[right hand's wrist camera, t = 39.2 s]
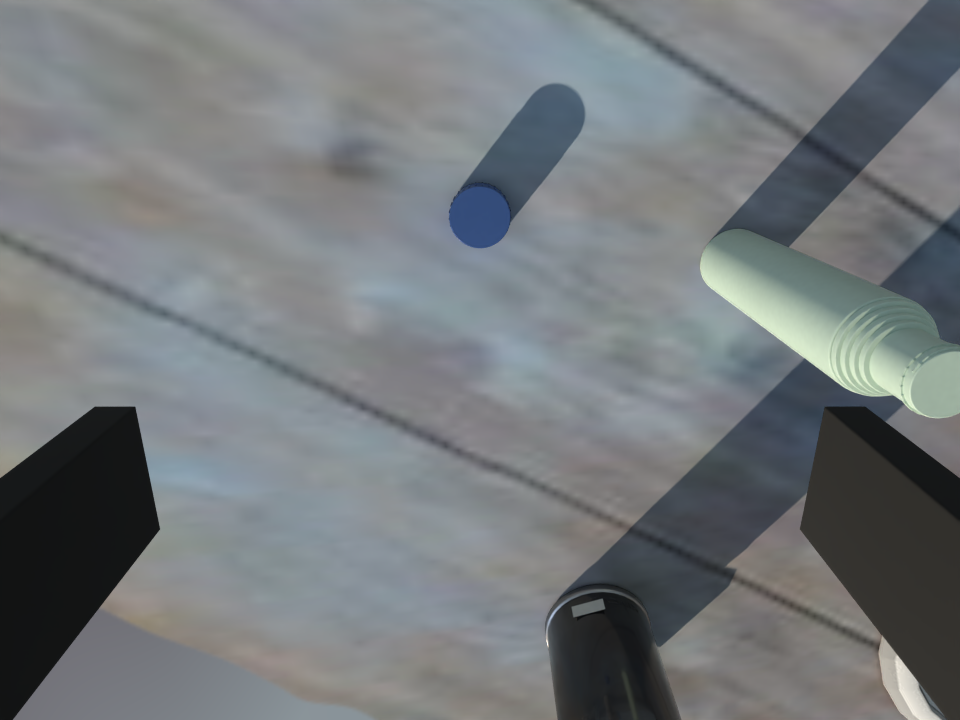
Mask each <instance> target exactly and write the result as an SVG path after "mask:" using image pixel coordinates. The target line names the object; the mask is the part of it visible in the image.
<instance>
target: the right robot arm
mask: <svg viewBox="0 0 960 720" xmlns="http://www.w3.org/2000/svg"><path fill="white" fill-rule="evenodd" d="M159 530H160V526H159V522H158V517H157V512H156V507H155V502H154V497H153V492H152V487H151V482H150V477H149V472H148V467H147V462H146V457H145V453H144V448H143V443H142V438H141V433H140V428H139V423H138V418H137V413H136V408H135V407H94V408H93V409H91V410H90V411H89V412H87V413H86V414H85V415H83V416H82V417H81V418H79V419H78V420H77V421H75V422H74V423H73V424H71V425H70V426H69V427H67V428H66V429H65V430H63V431H62V432H61V433H60V434H58V435H57V436H56V437H54V438H53V439H52V440H50V441H49V442H48V443H46V444H45V445H44V446H42V447H41V448H40V449H38V450H37V451H36V452H34V453H33V454H32V455H30V456H29V457H28V458H26V459H25V460H24V461H22V462H21V463H20V464H18V465H17V466H16V467H15V468H13V469H12V470H11V471H9V472H8V473H7V474H5V475H4V476H3V477H1V478H0V720H13V719H14V717H15V716H16V715H17V713H18V712H19V711H20V710H21V708H22V707H23V706H24V704H25V703H26V702H27V701H28V699H29V698H30V697H31V695H32V694H33V693H34V692H35V690H36V689H37V688H38V686H39V685H40V684H41V682H42V681H43V680H44V679H45V677H46V676H47V675H48V673H49V672H50V671H51V670H52V668H53V667H54V666H55V664H56V663H57V662H58V660H59V659H60V658H61V657H62V655H63V654H64V653H65V651H66V650H67V649H68V647H69V646H70V645H71V644H72V642H73V641H74V640H75V638H76V637H77V636H78V635H79V633H80V632H81V631H82V629H83V628H84V627H85V626H86V624H87V623H88V622H89V620H90V619H91V618H92V617H93V615H94V614H95V613H96V611H97V610H98V609H99V608H100V606H101V605H102V604H103V602H104V601H105V600H106V598H107V597H108V596H109V595H110V593H111V592H112V591H113V589H114V588H115V587H116V586H117V584H118V583H119V582H120V580H121V579H122V578H123V576H124V575H125V574H126V573H127V571H128V570H129V569H130V567H131V566H132V565H133V564H134V562H135V561H136V560H137V558H138V557H139V556H140V555H141V553H142V552H143V551H144V549H145V548H146V547H147V545H148V544H149V543H150V542H151V540H152V539H153V538H154V536H155V535H156V534H157V533H158V531H159ZM800 530H801V531H802V533H803V534H804V535H805V536H806V538H807V539H808V540H809V542H810V543H811V544H812V545H813V547H814V548H815V549H816V551H817V552H818V553H819V555H820V556H821V557H822V558H823V560H824V561H825V562H826V564H827V565H828V566H829V567H830V569H831V570H832V571H833V573H834V574H835V575H836V576H837V578H838V579H839V580H840V582H841V583H842V584H843V586H844V587H845V588H846V589H847V591H848V592H849V593H850V595H851V596H852V597H853V598H854V600H855V601H856V602H857V604H858V605H859V606H860V608H861V609H862V610H863V611H864V613H865V614H866V615H867V617H868V618H869V619H870V620H871V622H872V623H873V624H874V626H875V627H876V628H877V629H878V631H879V632H880V633H881V635H882V636H883V637H884V639H885V640H886V641H887V642H888V644H889V645H890V646H891V648H892V649H893V650H894V651H895V653H896V654H897V655H898V657H899V658H900V659H901V660H902V662H903V663H904V664H905V666H906V667H907V668H908V670H909V671H910V672H911V673H912V675H913V676H914V677H915V679H916V680H917V681H918V682H919V684H920V685H921V686H922V688H923V689H924V690H925V692H926V693H927V694H928V695H929V697H930V698H931V699H932V701H933V702H934V703H935V704H936V706H937V707H938V708H939V710H940V711H941V712H942V713H943V715H944V716H945V717H946V719H947V720H960V478H959V477H957V476H956V475H955V474H953V473H952V472H951V471H949V470H948V469H947V468H945V467H944V466H943V465H942V464H940V463H939V462H938V461H936V460H935V459H934V458H932V457H931V456H930V455H928V454H927V453H926V452H924V451H923V450H922V449H920V448H919V447H918V446H916V445H915V444H914V443H912V442H911V441H910V440H908V439H907V438H906V437H904V436H903V435H902V434H900V433H899V432H898V431H897V430H895V429H894V428H893V427H891V426H890V425H889V424H887V423H886V422H885V421H883V420H882V419H881V418H879V417H878V416H877V415H875V414H874V413H873V412H871V411H870V410H869V409H867V408H866V407H825V408H824V413H823V418H822V423H821V428H820V433H819V438H818V443H817V448H816V453H815V457H814V462H813V467H812V472H811V477H810V482H809V487H808V492H807V497H806V502H805V507H804V512H803V517H802V522H801V526H800Z"/></svg>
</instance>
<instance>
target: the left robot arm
mask: <svg viewBox="0 0 960 720" xmlns="http://www.w3.org/2000/svg"><path fill="white" fill-rule="evenodd" d="M545 633H546V641H547V645H548V648H549V655H550V664H551V672H552V680H553V688H554V695H555V703H556V711H557V719H558V720H681V717H680V714H679V711H678V708H677V705H676V702H675V699H674V696H673V693H672V690H671V687H670V684H669V681H668V678H667V675H666V672H665V669H664V666H663V663H662V660H661V657H660V654H659V651H658V648H657V645H656V642H655V639H654V636H653V633H652V630H651V624H650V620H649V617H648V614H647V611H646V609H645V607H644V605H643V604H642V603H641V601H640V600H639V599H638V598H637V597H636V596H634V595H633V594H632V593H630V592H628V591H627V590H624V589H622V588H619V587H616V586H611V585H589V586H584V587H581V588H578V589H575V590H573V591H571V592H569V593H567V594H566V595H564V596H563V597H562V598H560V599H559V600H558V601H557V602H556V603H555V604H554V605H553V607H552V608H551V610H550V612H549V613H548V616H547V619H546V623H545Z"/></svg>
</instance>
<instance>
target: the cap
mask: <svg viewBox="0 0 960 720" xmlns="http://www.w3.org/2000/svg"><path fill="white" fill-rule="evenodd" d="M508 205H509V203H508V201H506V198H505V195H503V194H502V193H501V191H500V190H498V189H497V188H496V187H495V186H491V185H490V184H485V183H483V182H482V183H475V184H471V185H470V184H469V185H468V186H466V187H465V188H464V187H463V189H462V190H461V191H460V192H459V191H458V194H457V195H456V197H454V199H453V202H452V203H451V206H450V207H451V209H450V211H449V213H450V215H449V220H450V227H451V229H452V231H453V233H454V234H455V236H456V237H457V238H458V239H459V240H460V241H461V242H462V243H464V244H466V245H468V246H470V247H474V248H486V247H490V246H492V245H494V244H496V243H498V242H499V241H500V240H501V239H502V238H503V237H504V236H505V234H506V232H507V231H508V228H509V225H510V218H511V215H510V212H511V210H510V207H509V206H508Z"/></svg>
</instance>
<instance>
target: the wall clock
mask: <svg viewBox="0 0 960 720" xmlns="http://www.w3.org/2000/svg"><path fill="white" fill-rule="evenodd" d="M879 659H880V666H881V672H882V679H883V684H884V686H885V688H886V689H887V691H888V693H889V694H890V696H891V698H892V700H893V701H894V703H895V705H896V707H897V708H898V710H899V711H900V713H901V714H903V715H904V716H905V717H906V718H907V719H909V720H947V719H946V717H945V716H944V715H943V713H942V712H941V711H940V710H939V708H938V707H937V706H936V704H935V703H934V702H933V701H932V699H931V698H930V697H929V695H928V694H927V693H926V692H925V690H924V689H923V688H922V686H921V685H920V684H919V682H918V681H917V680H916V679H915V677H914V676H913V675H912V673H911V672H910V671H909V670H908V668H907V667H906V666H905V664H904V663H903V662H902V660H901V659H900V658H899V657H898V655H897V654H896V653H895V651H894V650H893V649H892V648H891V646H890V645H889V644H888V642H887V641H886V640H885V639H884V637H883V636H882V638H881V643H880V648H879Z"/></svg>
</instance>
